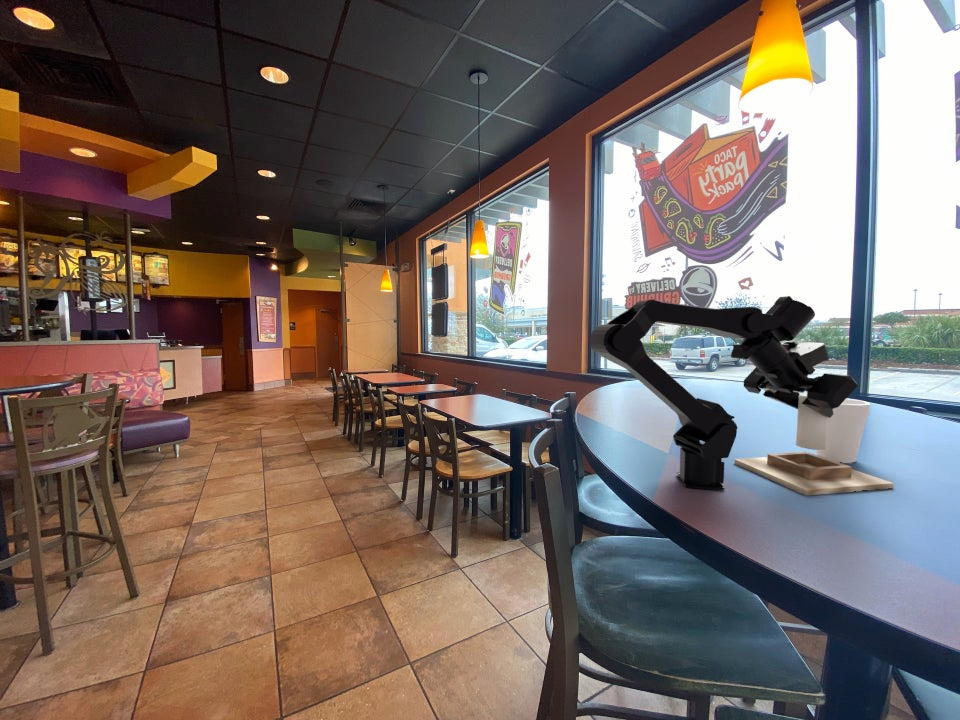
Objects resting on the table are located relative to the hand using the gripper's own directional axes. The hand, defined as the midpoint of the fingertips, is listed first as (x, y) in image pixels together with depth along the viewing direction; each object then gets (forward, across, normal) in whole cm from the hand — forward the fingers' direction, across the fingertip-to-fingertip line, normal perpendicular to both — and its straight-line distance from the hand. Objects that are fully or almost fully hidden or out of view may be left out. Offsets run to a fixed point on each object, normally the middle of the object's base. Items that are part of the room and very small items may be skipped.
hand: (818, 413), depth 75 cm
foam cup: (+19, +8, -1) cm, 20 cm away
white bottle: (+4, 0, +6) cm, 7 cm away
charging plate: (+8, 0, +10) cm, 13 cm away
